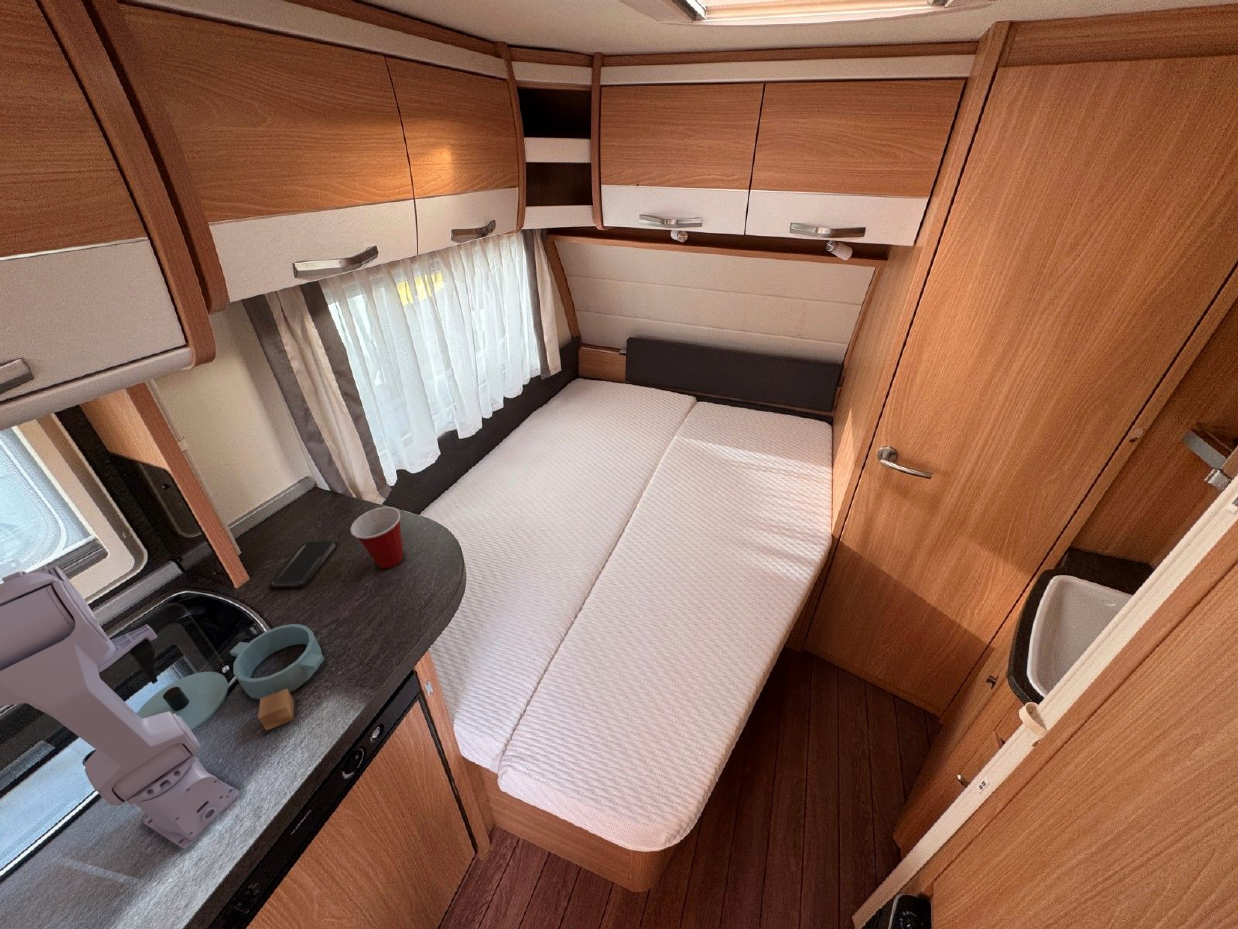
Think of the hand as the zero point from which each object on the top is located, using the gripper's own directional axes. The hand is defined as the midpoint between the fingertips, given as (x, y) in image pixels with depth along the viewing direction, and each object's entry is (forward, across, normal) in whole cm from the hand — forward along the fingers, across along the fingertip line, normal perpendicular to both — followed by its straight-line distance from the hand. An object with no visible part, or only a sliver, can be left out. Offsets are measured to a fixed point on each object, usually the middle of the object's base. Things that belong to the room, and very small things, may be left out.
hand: (124, 698), depth 81 cm
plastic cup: (+10, -48, -2) cm, 49 cm away
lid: (+9, -5, -1) cm, 10 cm away
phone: (+9, -37, -19) cm, 43 cm away
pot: (+9, -18, +7) cm, 22 cm away
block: (+10, -13, +16) cm, 23 cm away
